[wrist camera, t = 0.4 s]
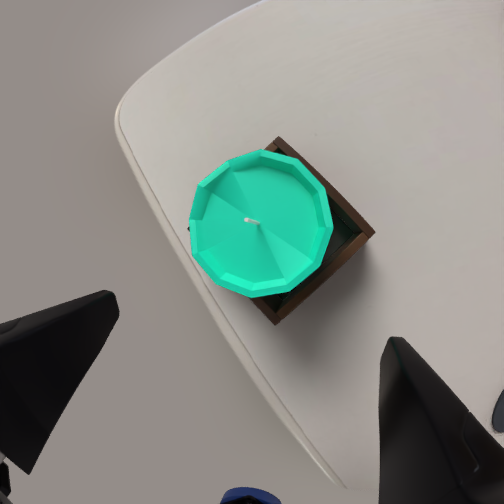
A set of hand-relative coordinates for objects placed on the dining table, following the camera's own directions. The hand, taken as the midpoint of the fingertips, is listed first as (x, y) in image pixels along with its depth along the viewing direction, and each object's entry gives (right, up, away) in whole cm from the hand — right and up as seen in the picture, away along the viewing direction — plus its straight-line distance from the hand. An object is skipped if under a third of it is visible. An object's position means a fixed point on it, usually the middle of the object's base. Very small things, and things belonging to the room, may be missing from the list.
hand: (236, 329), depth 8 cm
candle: (+3, +4, +13) cm, 14 cm away
